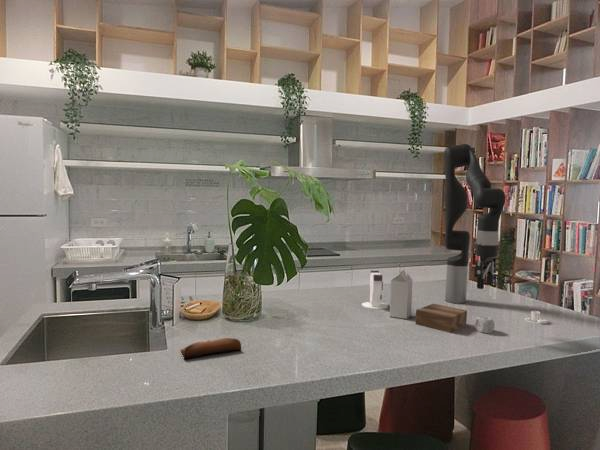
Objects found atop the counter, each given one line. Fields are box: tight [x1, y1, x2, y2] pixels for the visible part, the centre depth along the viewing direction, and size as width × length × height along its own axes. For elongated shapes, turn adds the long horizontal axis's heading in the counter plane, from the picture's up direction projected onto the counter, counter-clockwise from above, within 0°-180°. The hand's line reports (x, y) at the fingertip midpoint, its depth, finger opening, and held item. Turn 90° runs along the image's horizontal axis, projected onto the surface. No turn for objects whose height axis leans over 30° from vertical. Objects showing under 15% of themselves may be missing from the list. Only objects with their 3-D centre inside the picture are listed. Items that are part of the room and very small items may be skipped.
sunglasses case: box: [179, 337, 242, 360], centre depth 140 cm, size 18×7×7 cm
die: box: [474, 315, 496, 334], centre depth 166 cm, size 5×5×5 cm
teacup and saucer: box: [524, 310, 549, 325], centre depth 180 cm, size 9×8×4 cm
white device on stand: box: [361, 270, 389, 310], centre depth 198 cm, size 12×11×15 cm
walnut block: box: [415, 303, 468, 333], centre depth 173 cm, size 14×14×6 cm
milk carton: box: [389, 268, 413, 320], centre depth 183 cm, size 7×7×19 cm
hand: (484, 286), depth 165 cm, fingers open, 8 cm apart
